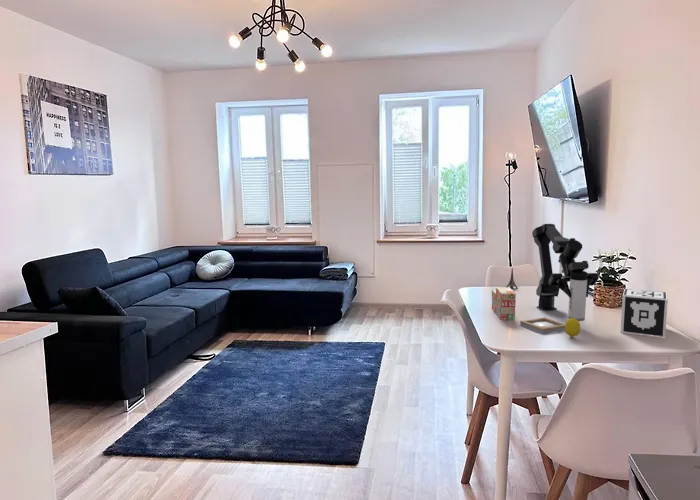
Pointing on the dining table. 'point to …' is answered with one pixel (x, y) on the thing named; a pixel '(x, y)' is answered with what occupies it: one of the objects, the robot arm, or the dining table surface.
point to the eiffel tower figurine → (511, 282)
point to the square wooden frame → (543, 325)
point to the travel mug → (577, 295)
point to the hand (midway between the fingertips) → (578, 296)
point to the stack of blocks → (504, 303)
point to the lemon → (572, 327)
